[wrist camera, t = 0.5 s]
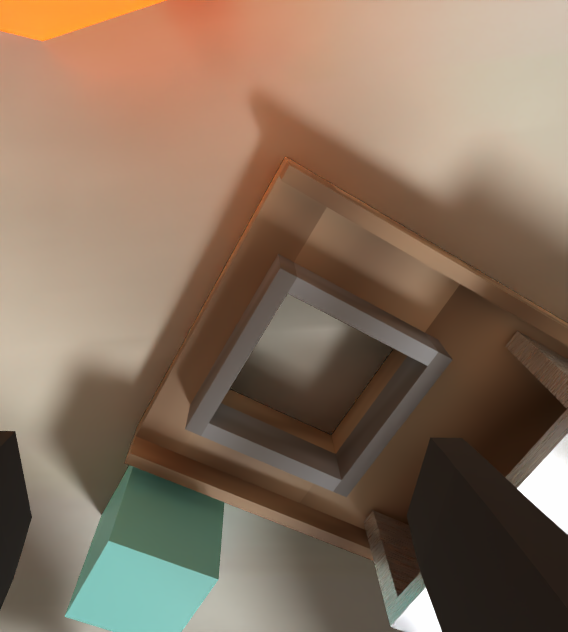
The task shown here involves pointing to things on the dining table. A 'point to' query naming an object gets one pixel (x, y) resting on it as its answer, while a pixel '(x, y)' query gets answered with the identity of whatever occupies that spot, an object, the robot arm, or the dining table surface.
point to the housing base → (382, 391)
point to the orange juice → (60, 15)
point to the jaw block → (149, 557)
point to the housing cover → (527, 476)
